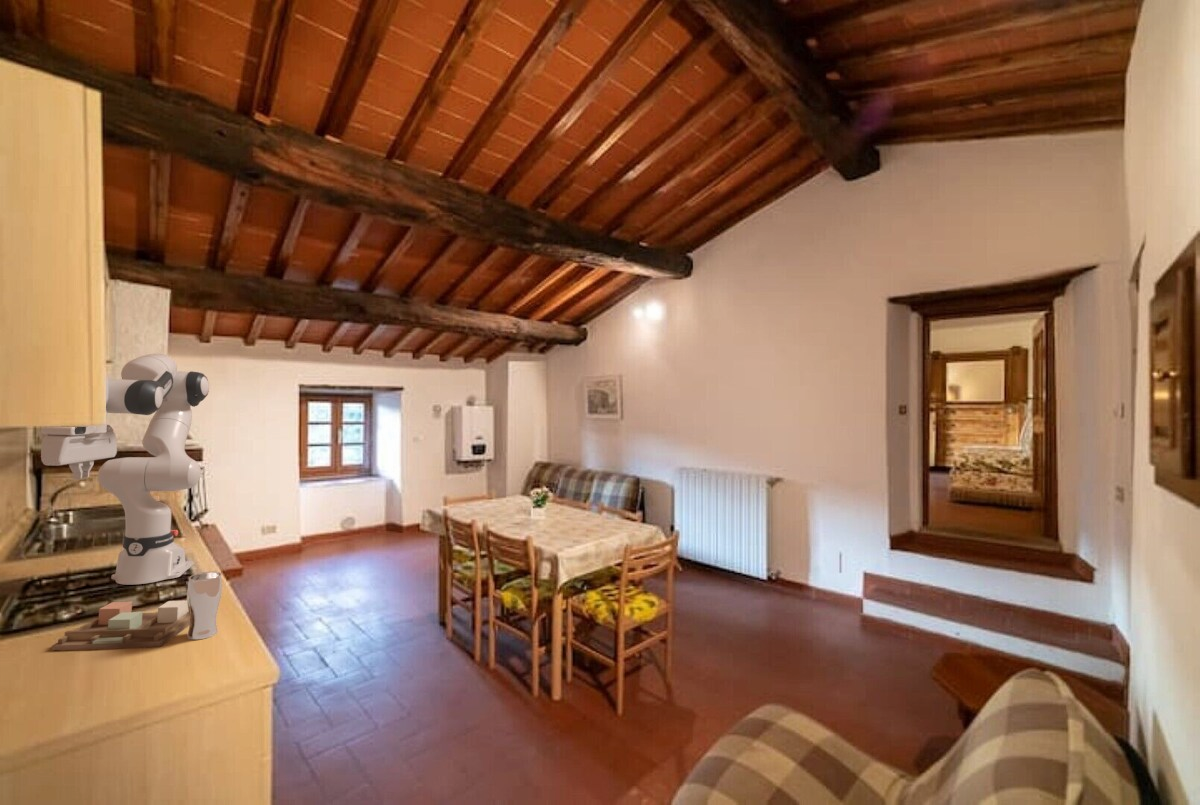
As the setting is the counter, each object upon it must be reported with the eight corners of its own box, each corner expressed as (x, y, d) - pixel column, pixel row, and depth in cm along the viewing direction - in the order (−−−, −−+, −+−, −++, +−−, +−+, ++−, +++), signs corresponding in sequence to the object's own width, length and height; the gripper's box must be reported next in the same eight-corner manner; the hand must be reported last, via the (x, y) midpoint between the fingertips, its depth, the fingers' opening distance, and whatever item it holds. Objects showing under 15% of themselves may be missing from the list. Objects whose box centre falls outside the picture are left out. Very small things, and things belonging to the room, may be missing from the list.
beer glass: (183, 643, 126) (187, 582, 126) (185, 632, 132) (188, 573, 132) (219, 636, 130) (222, 577, 130) (219, 626, 136) (222, 569, 136)
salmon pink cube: (111, 617, 135) (112, 602, 135) (131, 616, 136) (132, 601, 136) (98, 624, 130) (99, 609, 130) (118, 624, 131) (119, 608, 131)
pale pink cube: (168, 615, 137) (168, 600, 137) (187, 615, 138) (188, 600, 138) (157, 623, 133) (157, 607, 133) (176, 622, 134) (177, 607, 134)
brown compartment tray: (108, 618, 137) (109, 606, 137) (202, 615, 141) (202, 604, 141) (51, 650, 119) (52, 637, 119) (160, 646, 124) (160, 633, 124)
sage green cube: (120, 628, 129) (121, 612, 129) (141, 627, 130) (142, 611, 130) (107, 636, 125) (108, 620, 125) (129, 635, 126) (129, 619, 126)
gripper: (99, 423, 145) (97, 472, 145) (35, 427, 125) (32, 484, 125) (125, 424, 146) (123, 473, 146) (66, 428, 126) (63, 485, 126)
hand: (80, 478), depth 136 cm, fingers closed
